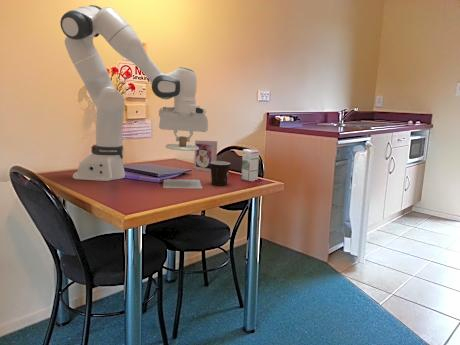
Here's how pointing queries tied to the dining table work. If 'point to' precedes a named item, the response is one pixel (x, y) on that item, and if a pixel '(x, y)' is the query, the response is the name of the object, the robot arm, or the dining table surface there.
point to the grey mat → (181, 183)
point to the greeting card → (205, 155)
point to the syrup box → (250, 165)
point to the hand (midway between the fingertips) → (182, 141)
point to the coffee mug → (219, 172)
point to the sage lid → (182, 145)
